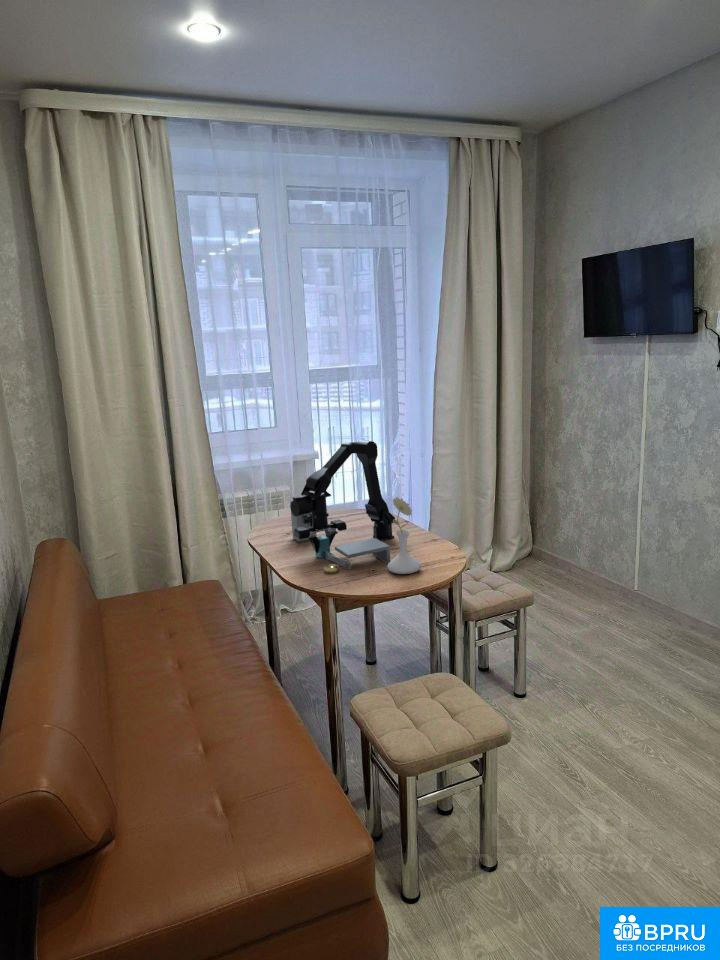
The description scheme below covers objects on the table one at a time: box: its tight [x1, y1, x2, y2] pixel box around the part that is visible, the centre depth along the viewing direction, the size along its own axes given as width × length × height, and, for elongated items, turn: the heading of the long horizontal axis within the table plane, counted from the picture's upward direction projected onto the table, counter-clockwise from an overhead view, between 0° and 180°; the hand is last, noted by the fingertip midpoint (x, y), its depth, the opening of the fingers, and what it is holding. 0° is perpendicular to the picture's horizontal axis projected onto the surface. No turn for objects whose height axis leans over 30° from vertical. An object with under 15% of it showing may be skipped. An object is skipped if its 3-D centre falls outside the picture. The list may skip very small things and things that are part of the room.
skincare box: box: [289, 499, 318, 543], centre depth 262 cm, size 8×7×16 cm
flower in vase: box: [387, 496, 422, 575], centre depth 219 cm, size 13×11×25 cm
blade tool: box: [314, 535, 352, 570], centre depth 233 cm, size 4×20×7 cm, turn 33°
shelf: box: [334, 537, 391, 564], centre depth 231 cm, size 16×11×6 cm
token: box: [323, 563, 340, 575], centre depth 225 cm, size 5×5×2 cm
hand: (322, 551), depth 241 cm, fingers closed on blade tool, 4 cm apart
